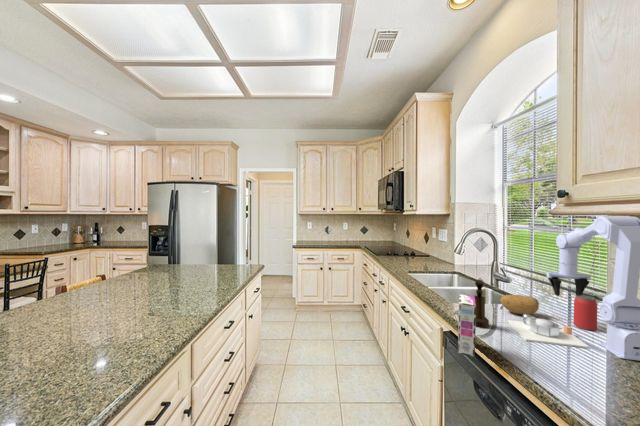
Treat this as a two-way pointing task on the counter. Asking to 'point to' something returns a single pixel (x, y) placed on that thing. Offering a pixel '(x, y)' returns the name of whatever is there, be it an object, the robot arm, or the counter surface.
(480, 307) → the pepper mill
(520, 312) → the potato
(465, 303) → the candy bar box
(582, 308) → the beer can
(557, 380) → the counter surface
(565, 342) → the base
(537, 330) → the elbow collar
